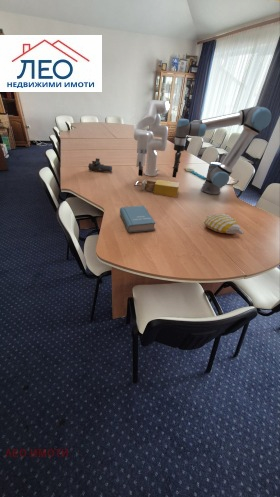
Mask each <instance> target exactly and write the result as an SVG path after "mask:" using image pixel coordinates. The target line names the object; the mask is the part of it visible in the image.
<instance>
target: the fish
mask: <svg viewBox="0 0 280 497" xmlns="http://www.w3.org/2000/svg"><path fill="white" fill-rule="evenodd" d="M203 223H204V225H205V226H206V227H207V228H208V229H210V230H212V231H214V232H217V233H222V234H227V235H237V234H239V235H244V234H245V233H244V232H243V231H242V229H241V227H240V225H239V224H238V222H237V219H236V218H235V217H232V216H230V215H229V214H228V213H216V214H210V215H207V216H206V218H205V219H204V220H203Z"/></svg>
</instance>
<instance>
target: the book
mask: <svg viewBox="0 0 280 497" xmlns="http://www.w3.org/2000/svg"><path fill="white" fill-rule="evenodd" d="M119 214H120V217H121V219H122V221H123V223H124V226H125V227H126V230H127V232H128V233H141V232H151V231H155V230H156V229H155V224H156V221H155V220H154V218H153V217H152V215H151V214H150V212H149V211H148V209H147V207H146V206H145V205H135V206H134V205H133V206H124V207H123V206H122V207H120V208H119Z"/></svg>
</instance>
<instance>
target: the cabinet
mask: <svg viewBox="0 0 280 497" xmlns="http://www.w3.org/2000/svg"><path fill="white" fill-rule="evenodd" d="M155 182H156V183H155V186H154V191H153V194H154V195H159V196H166V197H172V198H173V197H174V198H178V194H179V188H180V182H178V181H171V180H164V179H156V181H155Z"/></svg>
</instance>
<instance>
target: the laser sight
mask: <svg viewBox="0 0 280 497" xmlns="http://www.w3.org/2000/svg"><path fill="white" fill-rule="evenodd" d="M88 170H89V171H93V172H101V173H104V172H107V173H112V172H113V166H112V165H105V164H102V163H101V162H100V158H95V160H91V163H88Z"/></svg>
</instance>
